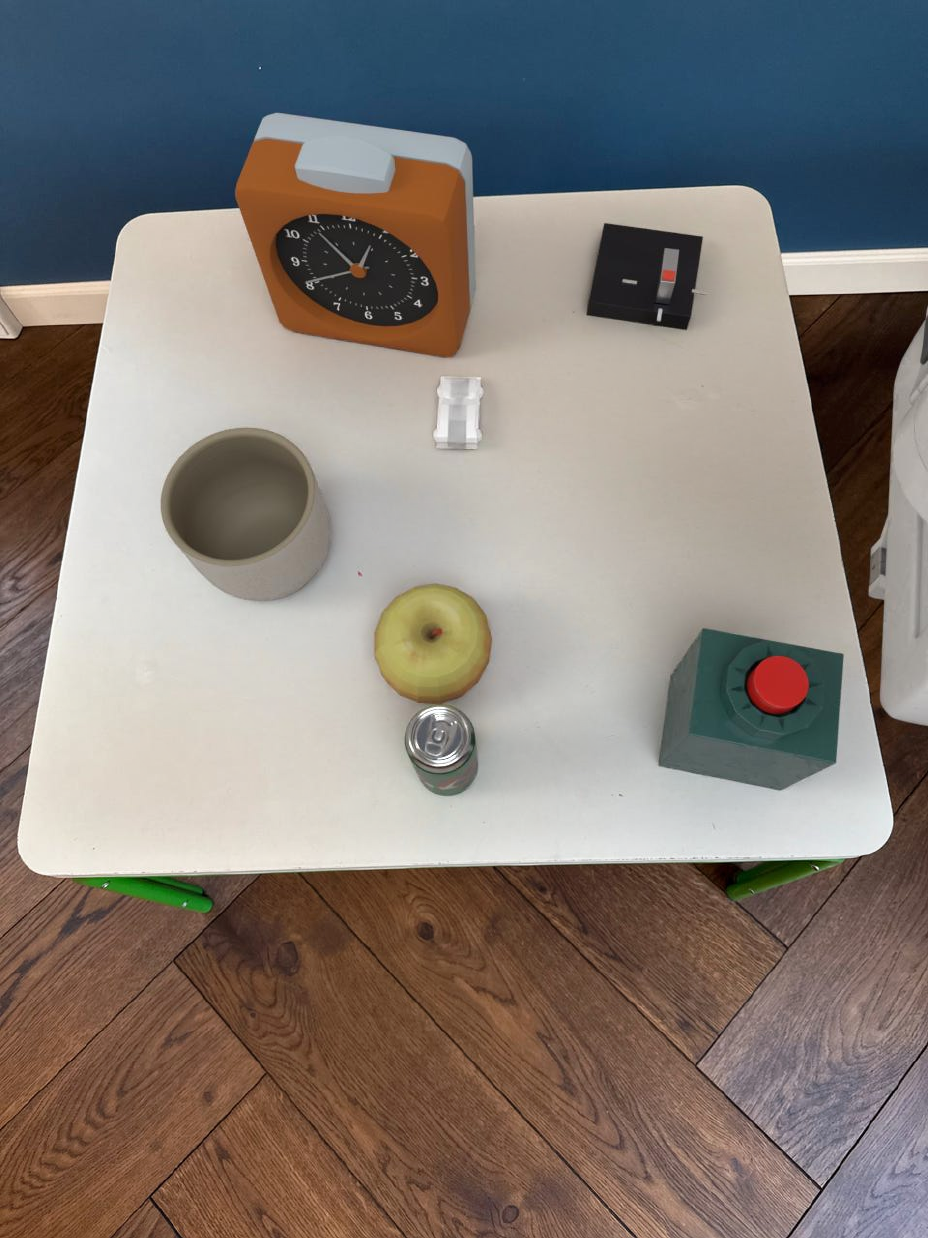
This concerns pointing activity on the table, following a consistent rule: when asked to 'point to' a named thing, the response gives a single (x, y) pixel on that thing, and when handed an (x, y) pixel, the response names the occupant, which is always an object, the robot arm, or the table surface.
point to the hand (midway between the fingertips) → (883, 576)
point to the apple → (432, 643)
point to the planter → (247, 513)
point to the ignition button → (777, 684)
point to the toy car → (458, 413)
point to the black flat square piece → (643, 276)
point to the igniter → (749, 714)
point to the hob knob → (667, 276)
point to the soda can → (442, 749)
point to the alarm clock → (362, 231)
